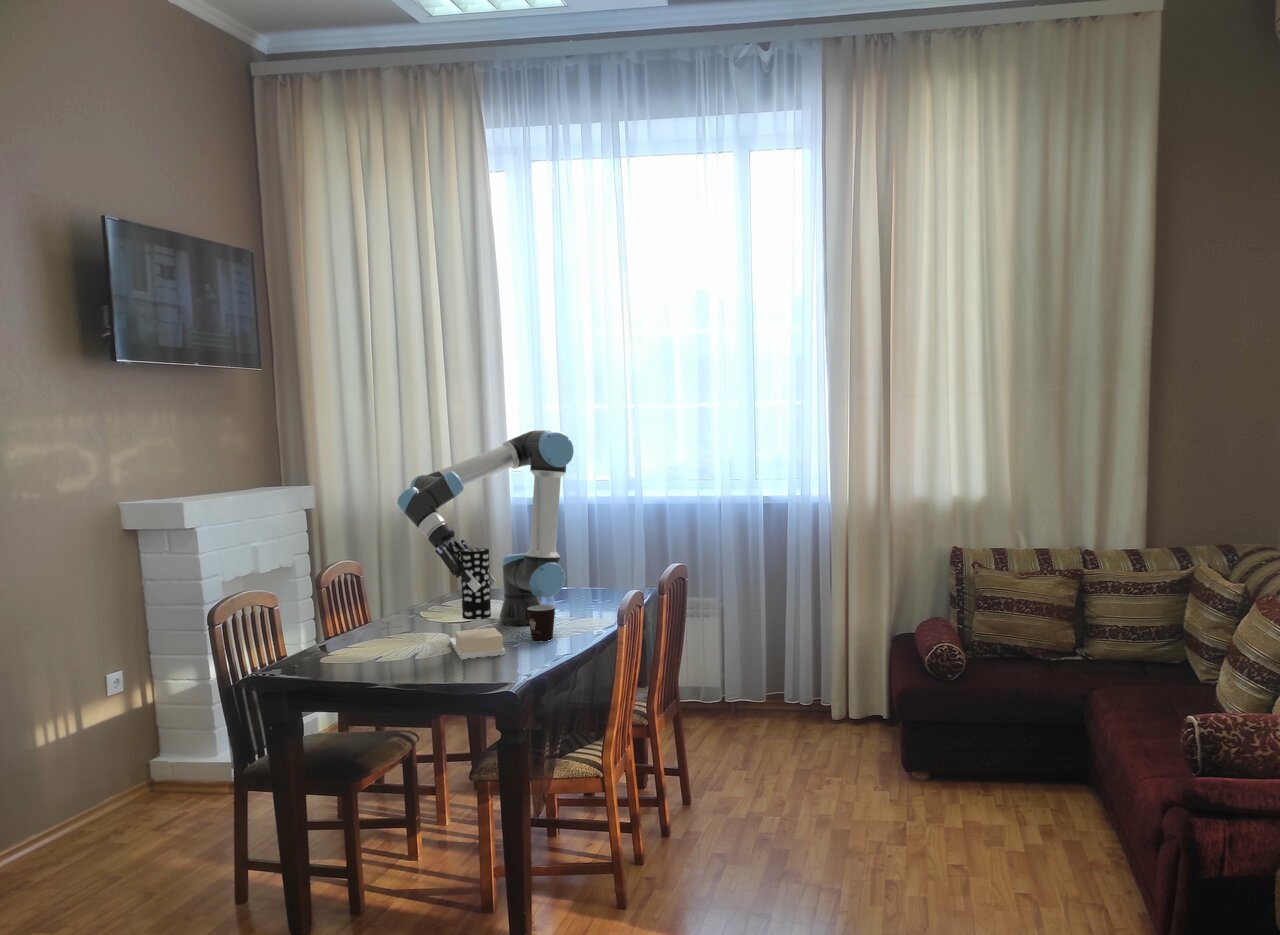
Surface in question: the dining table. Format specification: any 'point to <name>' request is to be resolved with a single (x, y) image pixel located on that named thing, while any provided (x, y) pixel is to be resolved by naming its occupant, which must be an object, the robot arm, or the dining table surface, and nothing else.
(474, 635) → the stand
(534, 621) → the coffee mug
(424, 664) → the dining table surface
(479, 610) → the spotted tube
